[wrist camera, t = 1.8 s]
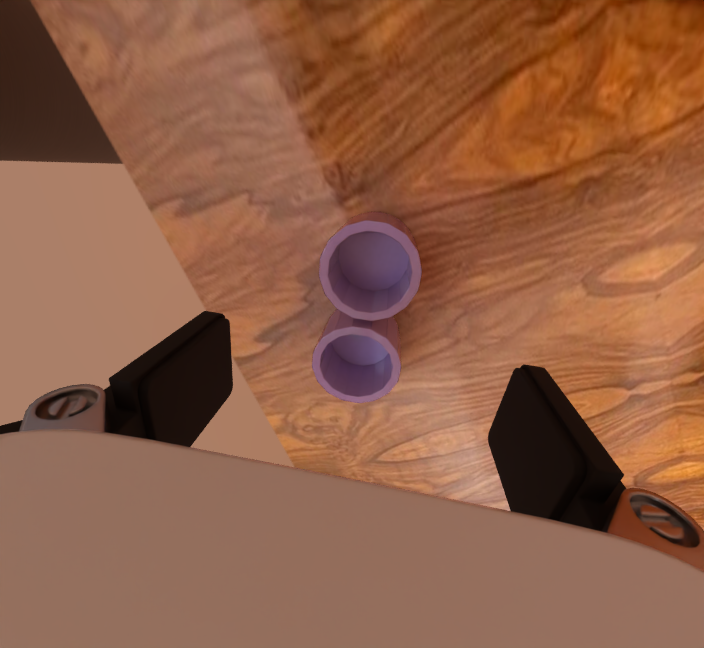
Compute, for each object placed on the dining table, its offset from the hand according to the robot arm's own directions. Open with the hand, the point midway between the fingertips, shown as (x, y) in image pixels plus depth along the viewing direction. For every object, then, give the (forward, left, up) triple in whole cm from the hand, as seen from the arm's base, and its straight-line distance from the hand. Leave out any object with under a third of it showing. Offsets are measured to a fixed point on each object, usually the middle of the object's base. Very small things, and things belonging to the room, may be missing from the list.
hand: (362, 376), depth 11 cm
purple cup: (-1, -7, -16) cm, 17 cm away
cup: (-1, 0, -16) cm, 16 cm away
